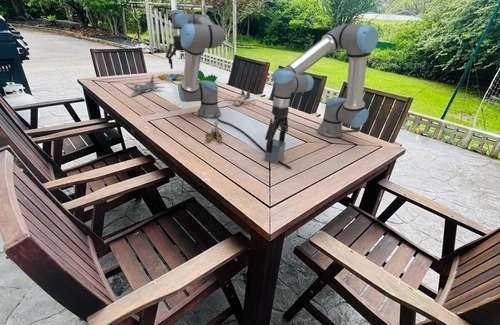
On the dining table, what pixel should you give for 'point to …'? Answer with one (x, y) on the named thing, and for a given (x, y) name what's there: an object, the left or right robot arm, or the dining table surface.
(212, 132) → the jawbone
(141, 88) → the airplane
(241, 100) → the toy
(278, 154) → the block
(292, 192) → the dining table surface
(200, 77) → the ornament
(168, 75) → the sign
